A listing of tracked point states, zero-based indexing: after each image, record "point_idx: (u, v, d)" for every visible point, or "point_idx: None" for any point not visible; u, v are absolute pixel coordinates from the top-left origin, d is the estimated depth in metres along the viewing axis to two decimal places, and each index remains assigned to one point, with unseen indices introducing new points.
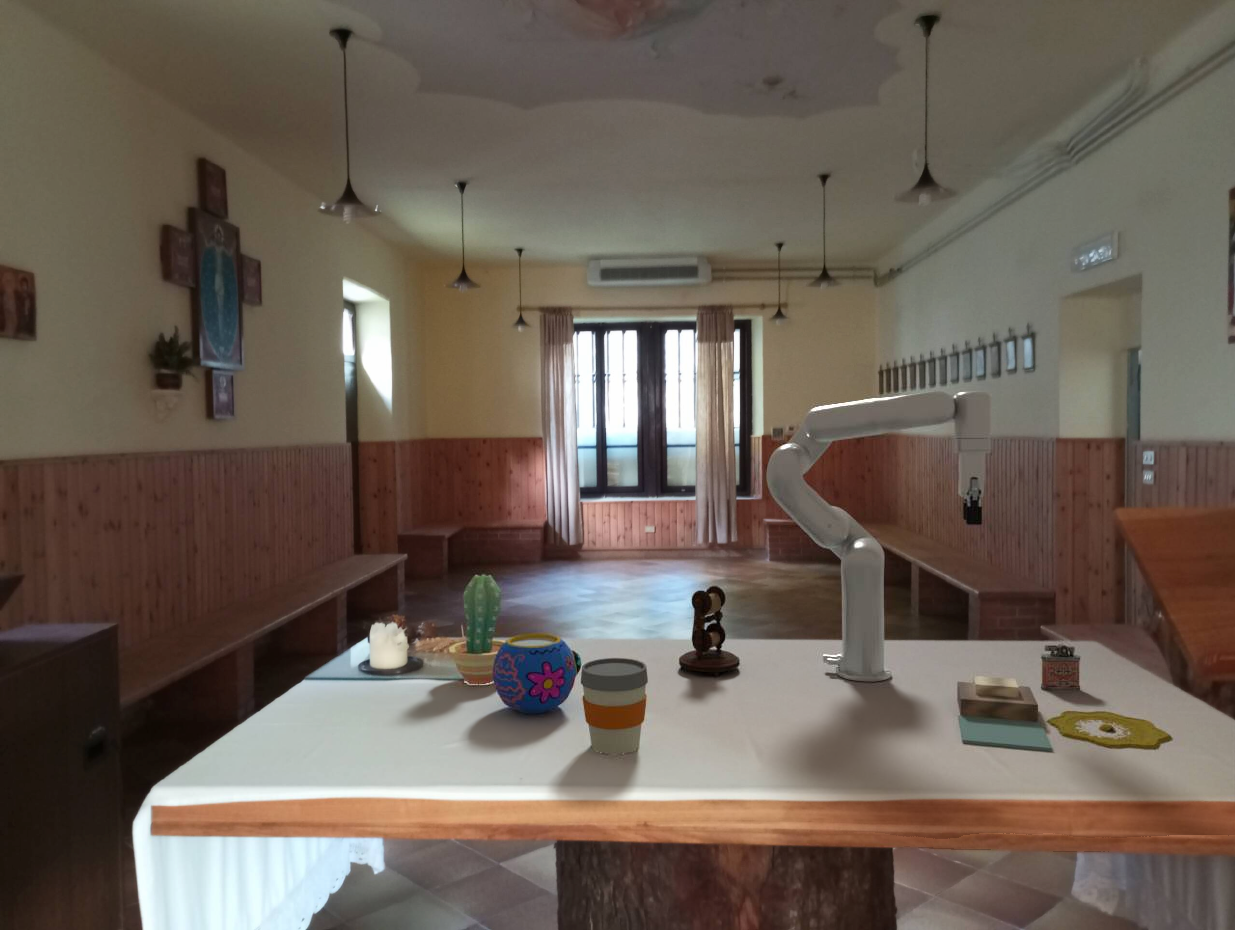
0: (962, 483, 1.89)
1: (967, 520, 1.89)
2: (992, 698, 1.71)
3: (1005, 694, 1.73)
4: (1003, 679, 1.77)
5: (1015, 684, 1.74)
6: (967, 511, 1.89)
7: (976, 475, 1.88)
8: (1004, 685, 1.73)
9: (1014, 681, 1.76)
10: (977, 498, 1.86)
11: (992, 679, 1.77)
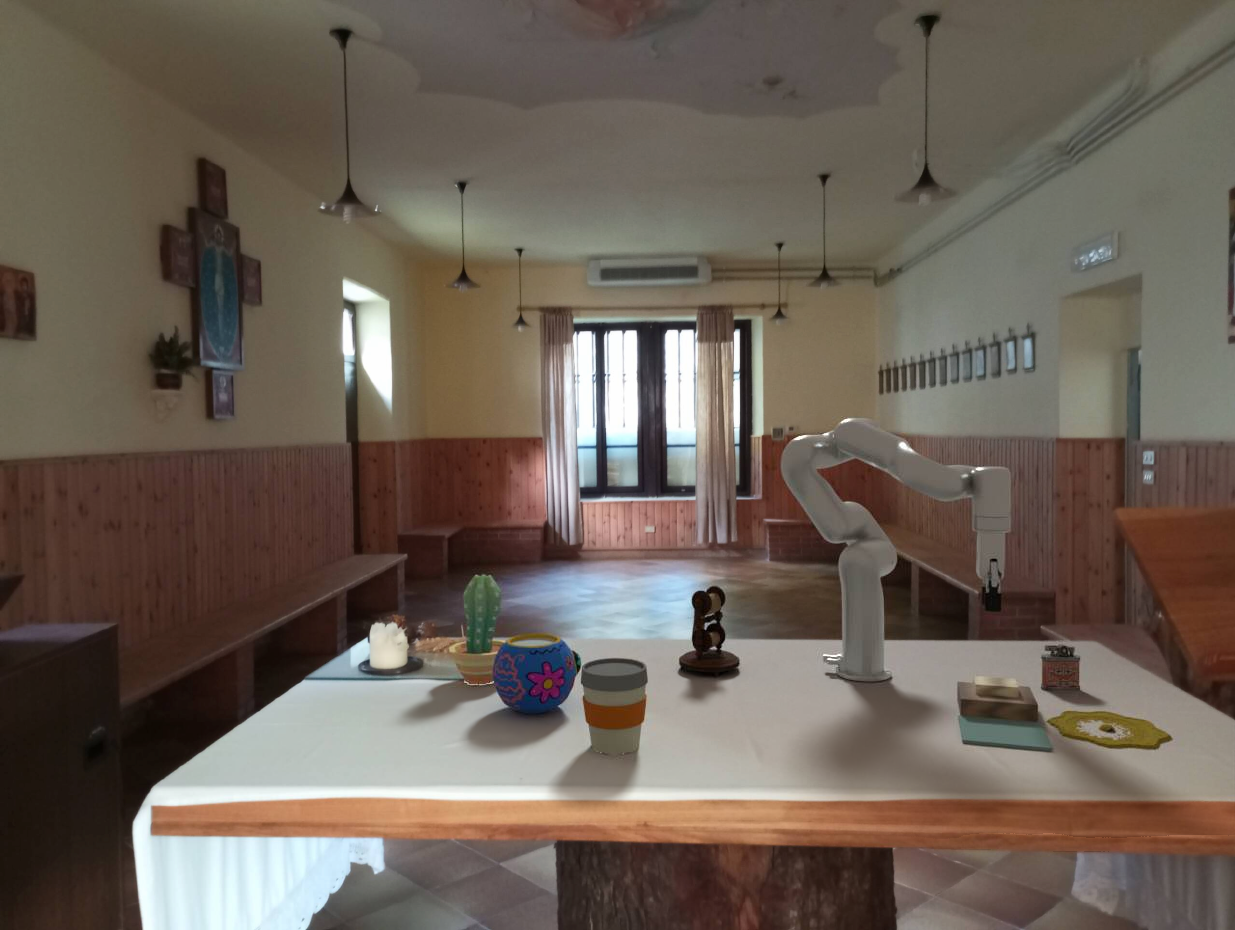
0: (981, 564, 1.79)
1: (986, 606, 1.81)
2: (992, 698, 1.71)
3: (1005, 694, 1.73)
4: (1003, 679, 1.77)
5: (1015, 684, 1.74)
6: (986, 597, 1.81)
7: (996, 556, 1.78)
8: (1004, 685, 1.73)
9: (1014, 681, 1.76)
10: (996, 585, 1.78)
11: (992, 679, 1.77)
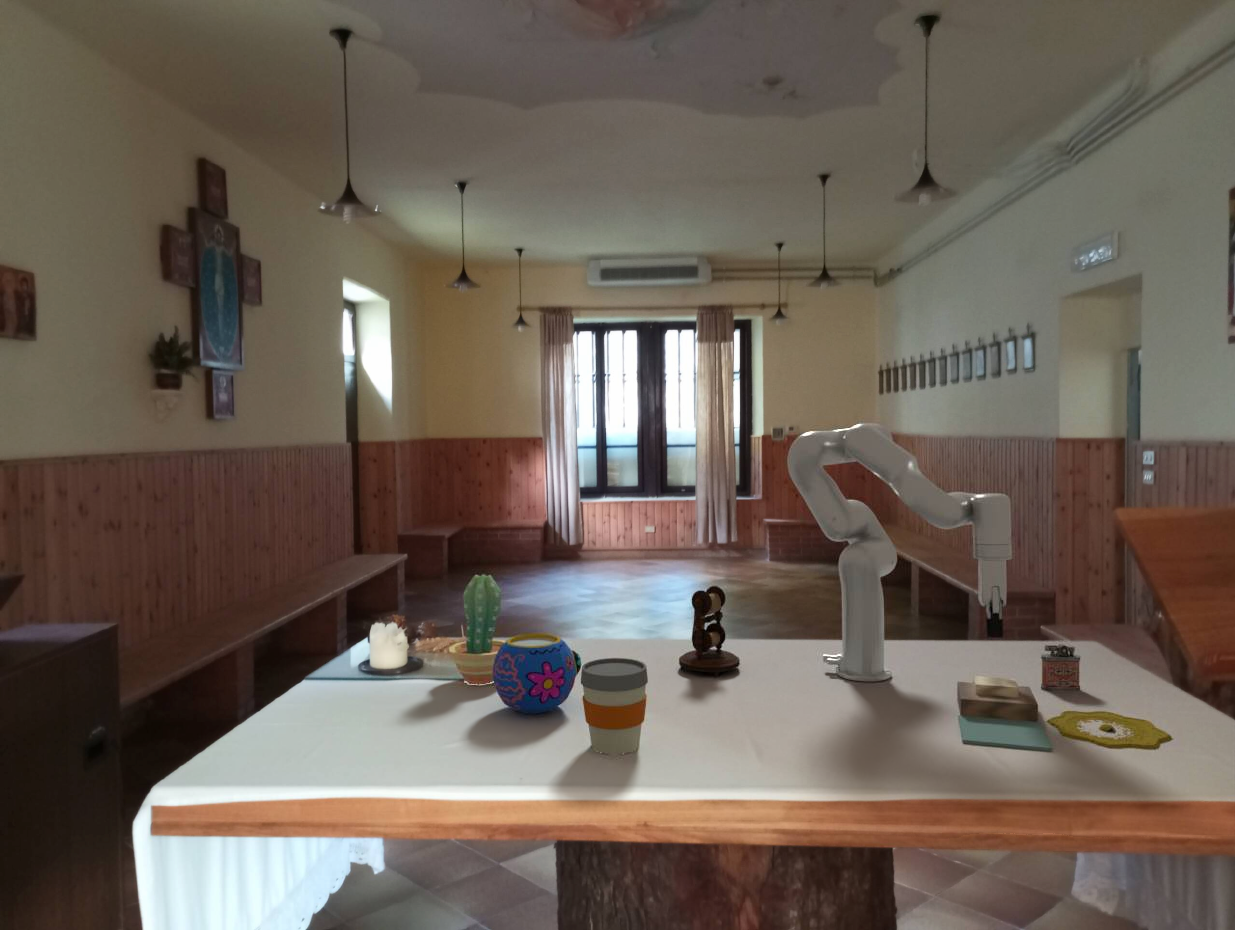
0: (983, 592, 1.79)
1: (988, 632, 1.83)
2: (992, 698, 1.71)
3: (1005, 694, 1.73)
4: (1003, 679, 1.77)
5: (1015, 684, 1.74)
6: (987, 623, 1.83)
7: (998, 584, 1.78)
8: (1004, 685, 1.73)
9: (1014, 681, 1.76)
10: None
11: (992, 679, 1.77)
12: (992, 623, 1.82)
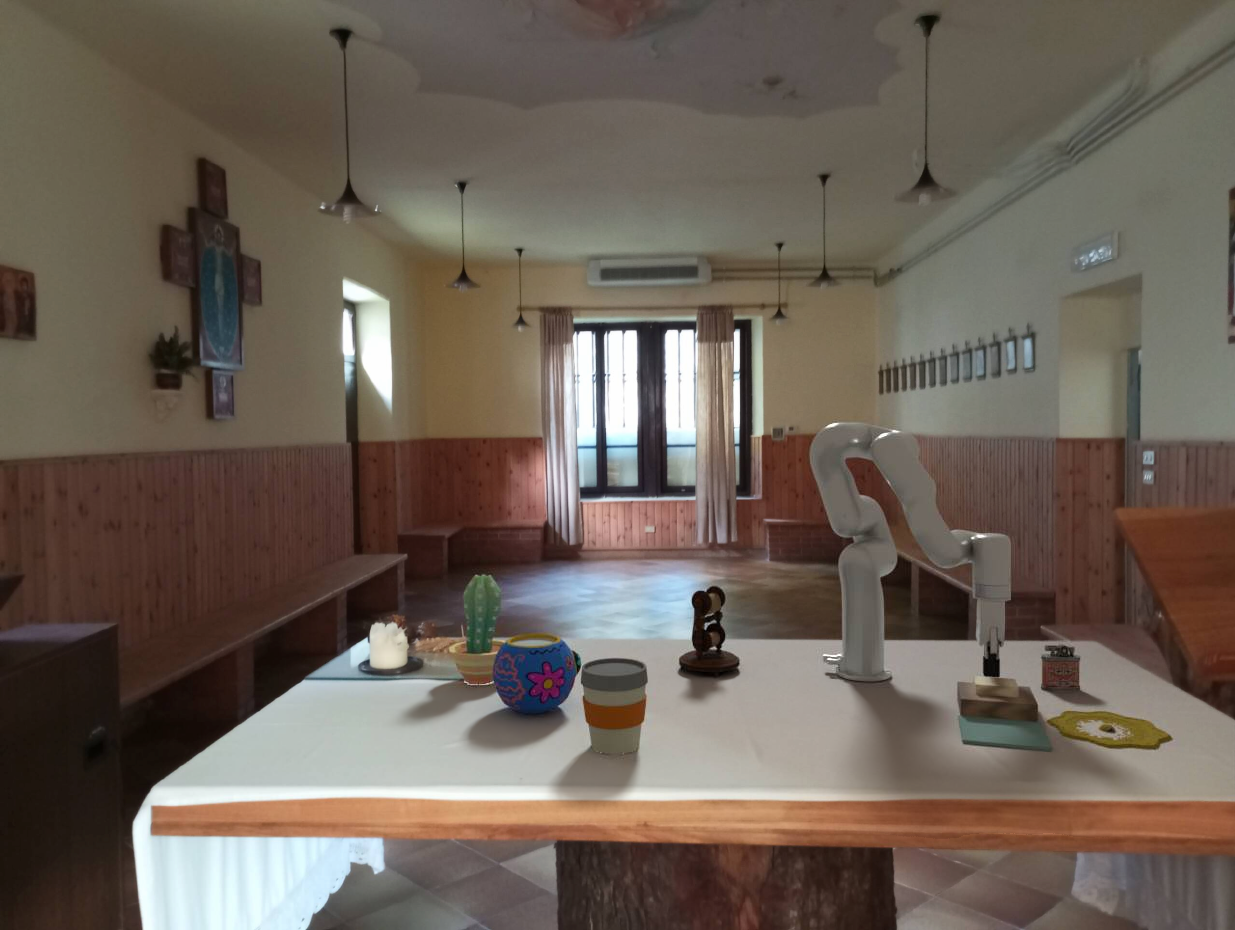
0: (981, 633, 1.80)
1: (984, 672, 1.84)
2: (992, 698, 1.71)
3: (1005, 694, 1.73)
4: (1003, 679, 1.77)
5: (1015, 684, 1.74)
6: (984, 663, 1.84)
7: (996, 625, 1.79)
8: (1004, 685, 1.73)
9: (1014, 681, 1.76)
10: None
11: (992, 679, 1.77)
12: (989, 663, 1.83)
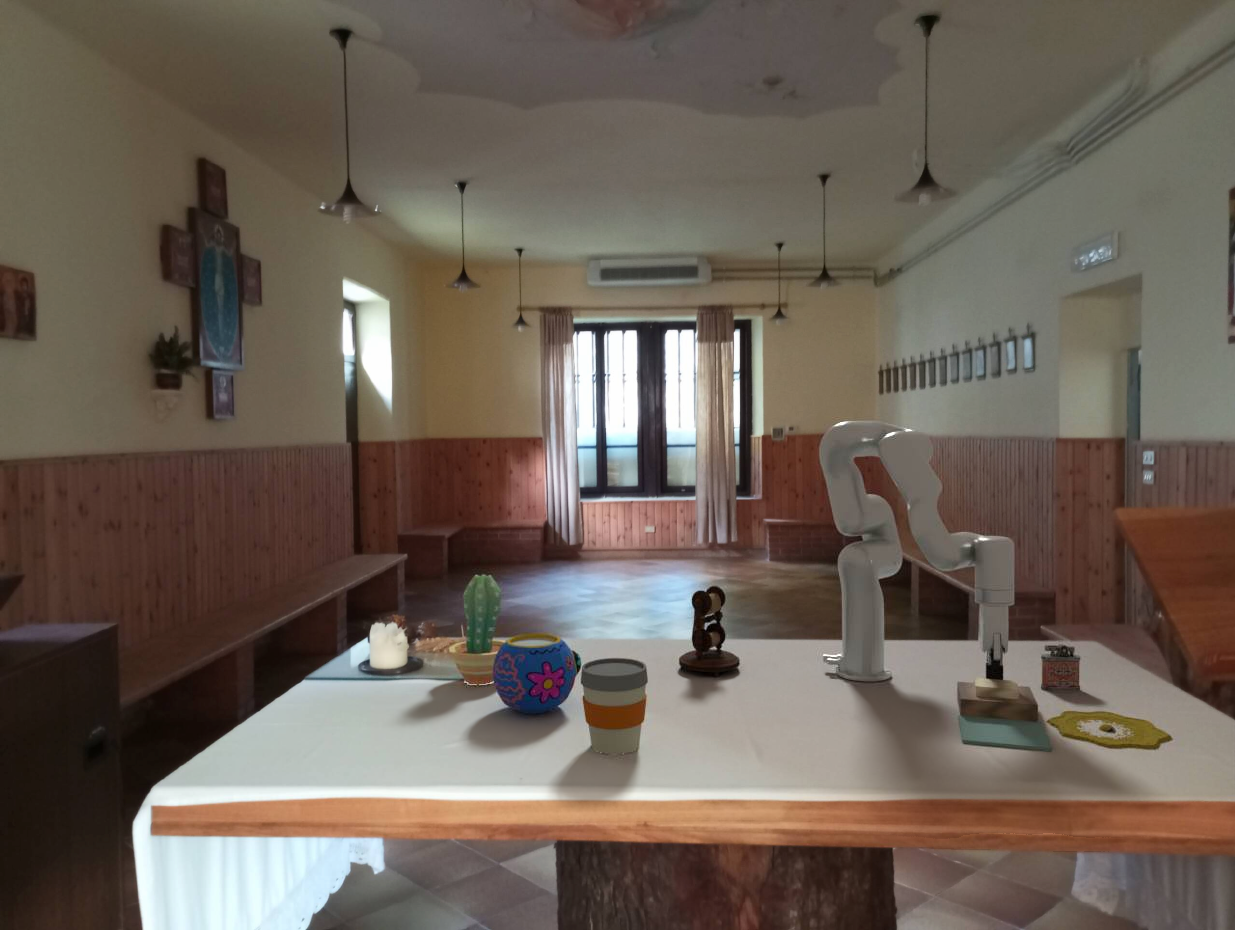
0: (984, 639, 1.75)
1: None
2: (992, 698, 1.71)
3: (1005, 696, 1.71)
4: (1003, 680, 1.76)
5: (1016, 686, 1.72)
6: (987, 669, 1.78)
7: (999, 631, 1.73)
8: (1005, 687, 1.72)
9: (1015, 683, 1.74)
10: None
11: (993, 681, 1.76)
12: (992, 669, 1.77)
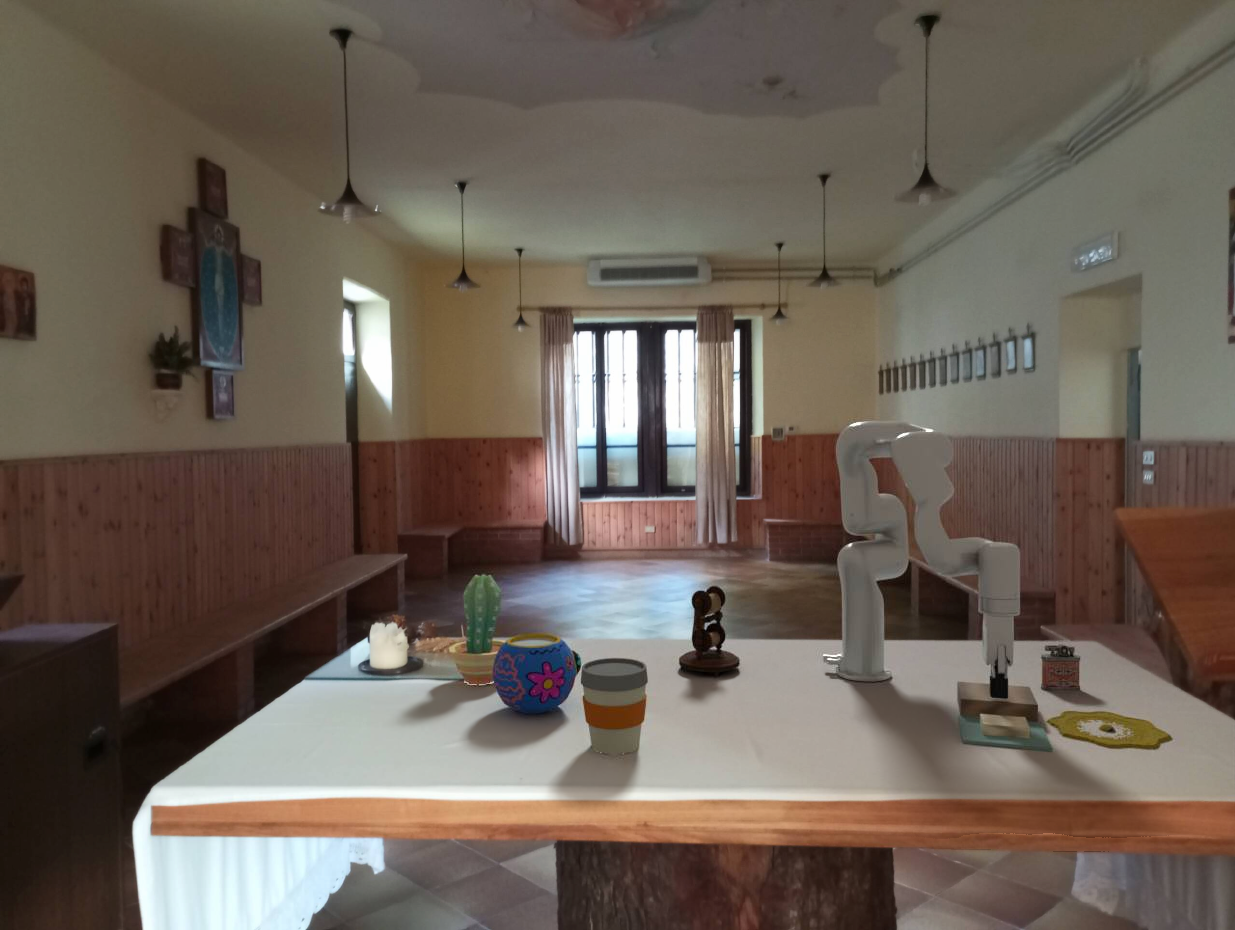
0: (988, 651, 1.66)
1: (991, 693, 1.69)
2: (992, 698, 1.71)
3: None
4: None
5: None
6: (991, 683, 1.69)
7: (1004, 642, 1.64)
8: None
9: None
10: None
11: None
12: (997, 683, 1.68)
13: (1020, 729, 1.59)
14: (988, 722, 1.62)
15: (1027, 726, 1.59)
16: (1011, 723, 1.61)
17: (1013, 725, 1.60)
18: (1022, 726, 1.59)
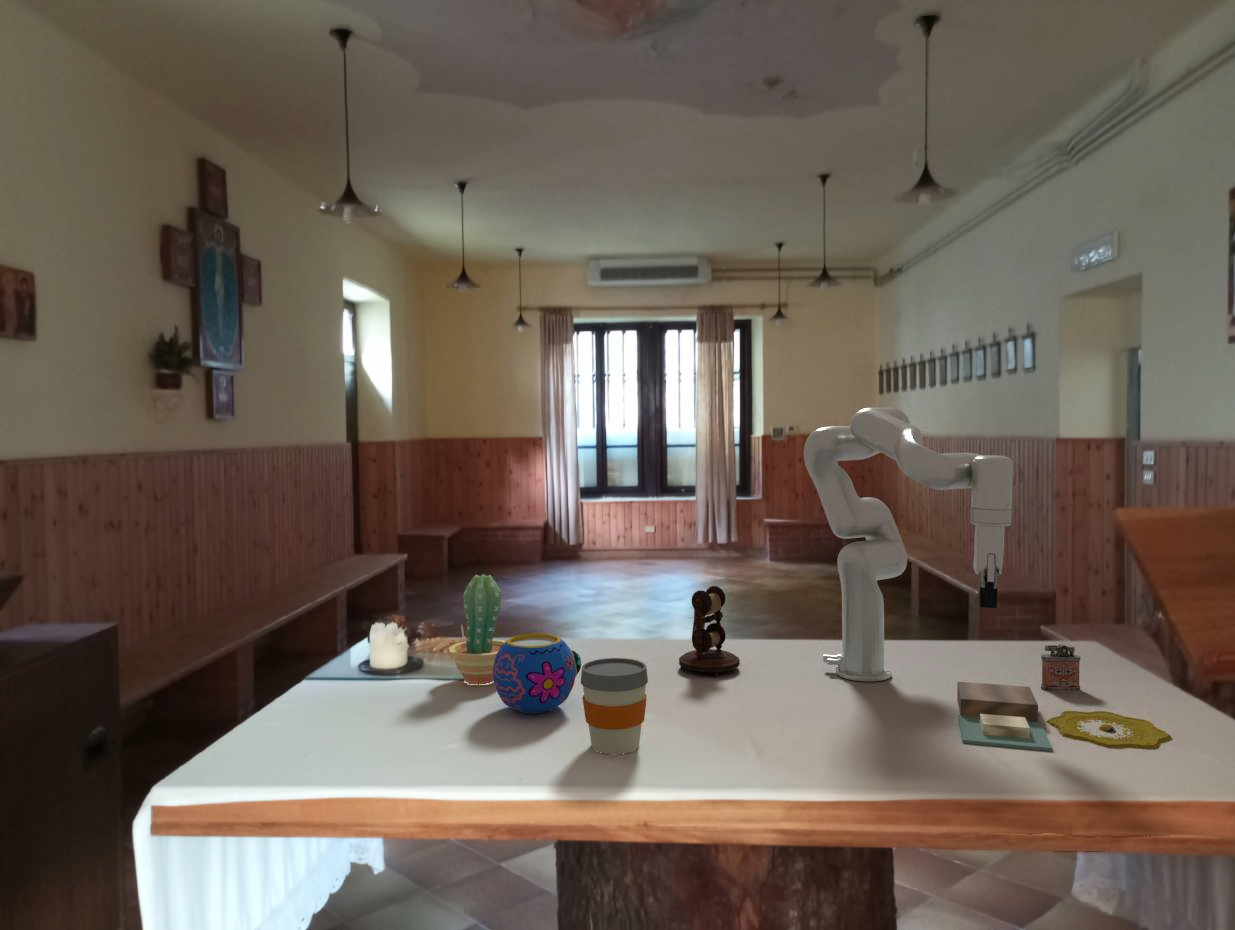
0: (978, 559, 1.69)
1: (981, 602, 1.73)
2: (992, 698, 1.71)
3: None
4: None
5: None
6: (981, 593, 1.73)
7: (994, 551, 1.68)
8: None
9: None
10: None
11: None
12: (986, 593, 1.72)
13: (1020, 729, 1.59)
14: (988, 722, 1.62)
15: (1027, 726, 1.59)
16: (1011, 723, 1.61)
17: (1013, 725, 1.60)
18: (1022, 726, 1.59)
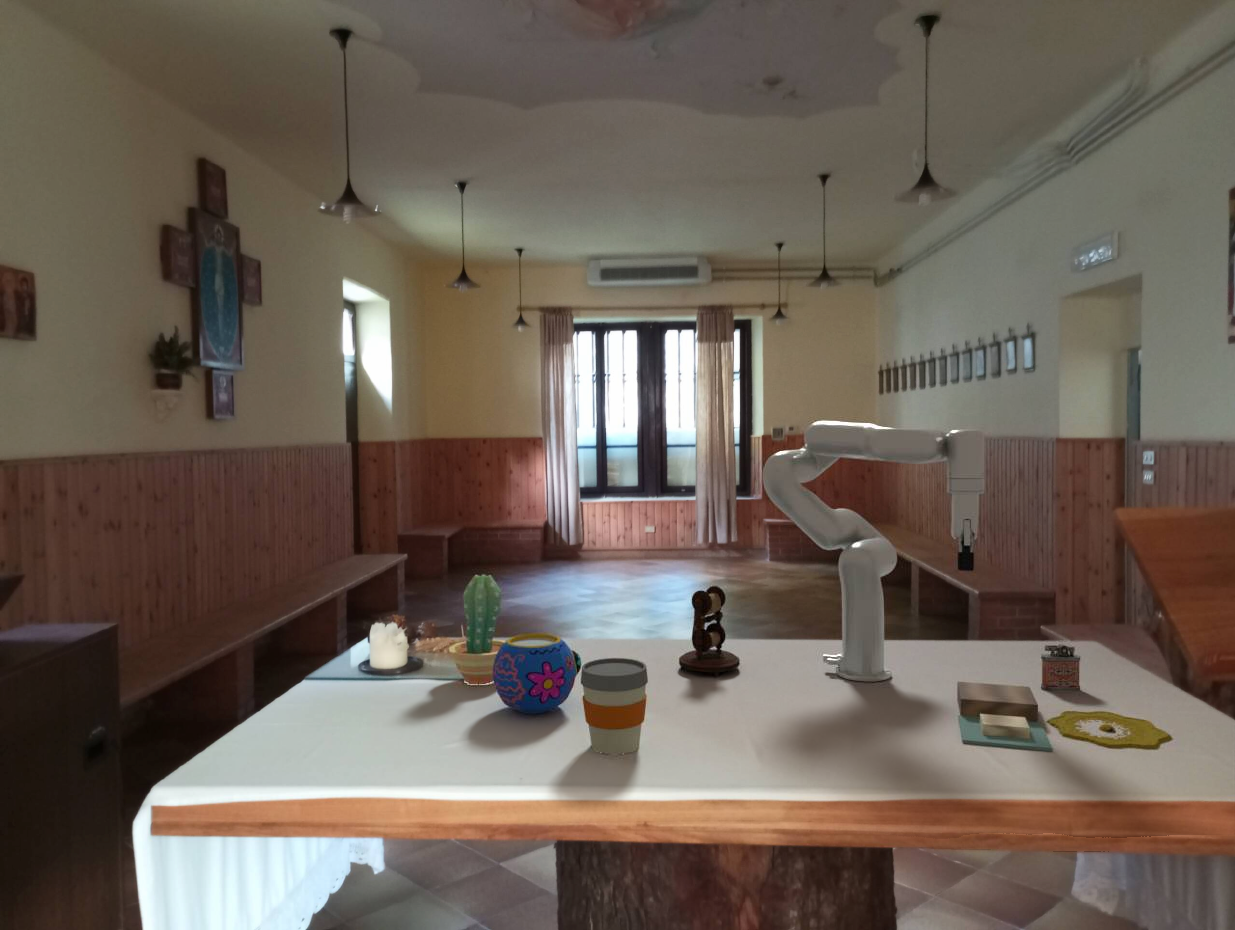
0: (955, 525, 1.83)
1: (959, 566, 1.86)
2: (992, 698, 1.71)
3: None
4: None
5: None
6: (959, 557, 1.86)
7: (969, 517, 1.81)
8: None
9: None
10: None
11: None
12: (963, 556, 1.85)
13: (1020, 729, 1.59)
14: (988, 722, 1.62)
15: (1027, 726, 1.59)
16: (1011, 723, 1.61)
17: (1013, 725, 1.60)
18: (1022, 726, 1.59)
